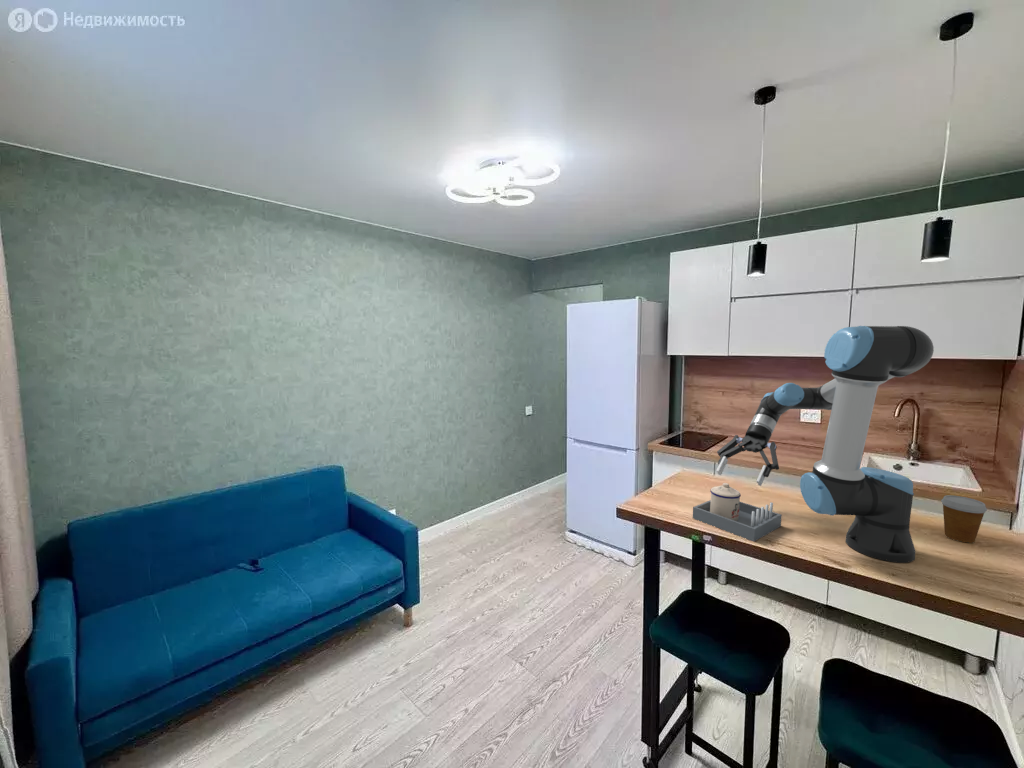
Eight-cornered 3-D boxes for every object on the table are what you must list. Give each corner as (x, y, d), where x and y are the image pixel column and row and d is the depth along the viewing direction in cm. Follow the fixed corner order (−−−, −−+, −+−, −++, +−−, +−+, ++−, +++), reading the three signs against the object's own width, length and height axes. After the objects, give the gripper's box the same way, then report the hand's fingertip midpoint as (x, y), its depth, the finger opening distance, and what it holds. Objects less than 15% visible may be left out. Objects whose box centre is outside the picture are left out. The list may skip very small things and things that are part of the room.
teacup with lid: (737, 525, 134) (739, 490, 133) (707, 518, 139) (708, 485, 138) (741, 512, 144) (743, 479, 143) (712, 506, 149) (714, 475, 148)
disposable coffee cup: (969, 547, 121) (974, 508, 120) (929, 533, 130) (933, 496, 129) (991, 543, 124) (996, 504, 123) (950, 529, 133) (954, 493, 132)
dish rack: (780, 526, 135) (782, 502, 135) (753, 541, 125) (755, 516, 124) (720, 506, 152) (721, 485, 151) (692, 518, 142) (693, 495, 141)
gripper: (802, 442, 142) (780, 494, 135) (729, 430, 163) (707, 474, 156) (797, 429, 139) (774, 482, 132) (723, 418, 159) (699, 463, 152)
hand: (737, 478), depth 144 cm, fingers open, 13 cm apart
